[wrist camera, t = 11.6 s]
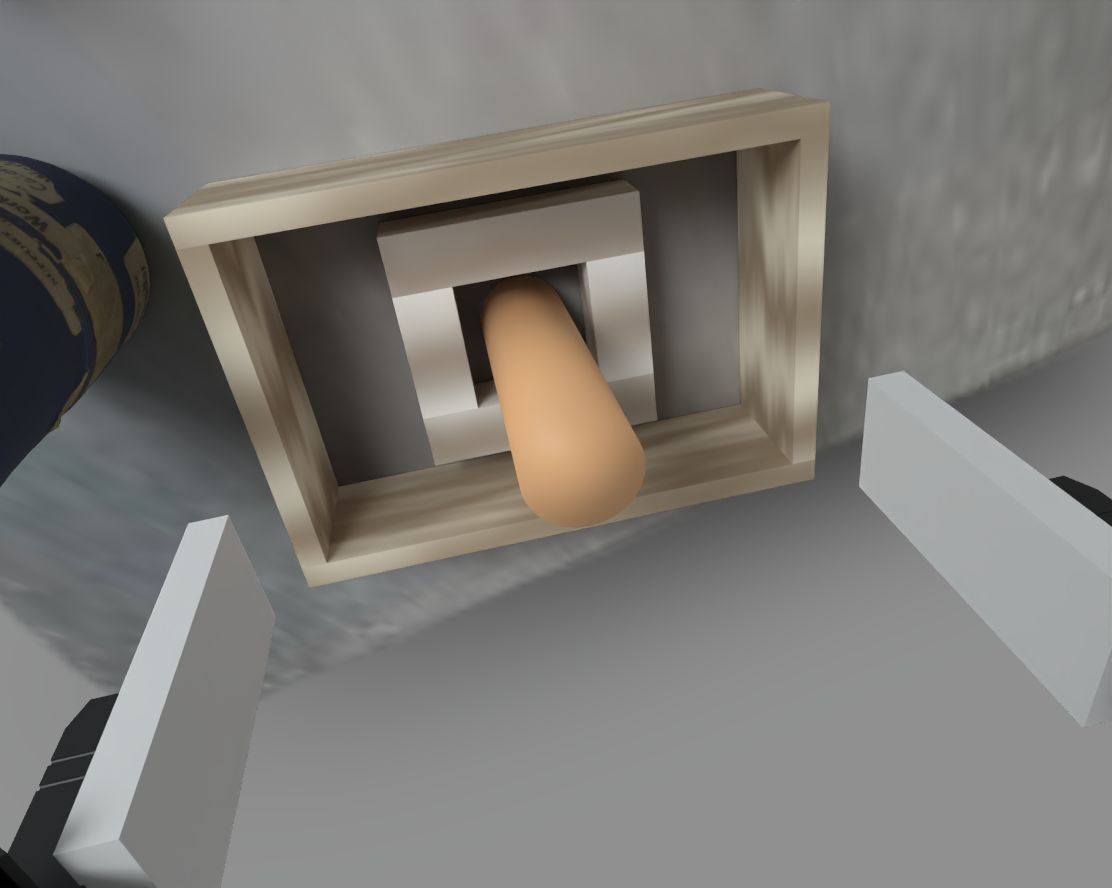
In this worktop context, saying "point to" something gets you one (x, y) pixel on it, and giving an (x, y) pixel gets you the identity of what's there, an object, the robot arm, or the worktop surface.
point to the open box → (506, 250)
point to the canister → (59, 297)
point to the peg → (558, 408)
